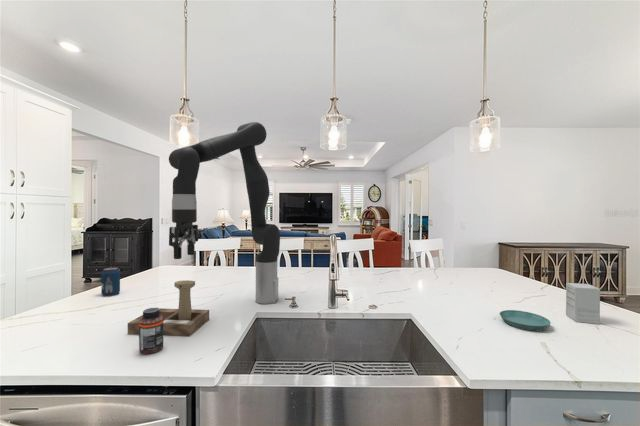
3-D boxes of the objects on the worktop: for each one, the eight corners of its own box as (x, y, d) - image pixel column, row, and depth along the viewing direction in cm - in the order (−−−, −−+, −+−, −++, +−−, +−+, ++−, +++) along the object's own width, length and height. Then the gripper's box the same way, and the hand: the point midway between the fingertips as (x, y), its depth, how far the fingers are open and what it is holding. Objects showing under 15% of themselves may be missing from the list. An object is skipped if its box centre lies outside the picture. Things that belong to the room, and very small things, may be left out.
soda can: (116, 291, 140) (116, 266, 140) (122, 294, 136) (122, 268, 136) (99, 295, 135) (98, 268, 134) (104, 297, 131) (104, 270, 130)
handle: (189, 330, 96) (189, 284, 96) (171, 329, 97) (171, 283, 97) (197, 324, 101) (197, 280, 101) (180, 323, 102) (180, 280, 102)
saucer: (489, 320, 108) (490, 313, 108) (516, 314, 113) (516, 308, 113) (532, 336, 94) (533, 328, 94) (560, 329, 100) (560, 321, 100)
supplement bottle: (145, 345, 86) (145, 306, 86) (167, 344, 86) (167, 305, 86) (134, 355, 80) (134, 313, 80) (157, 354, 80) (157, 313, 80)
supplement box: (589, 317, 111) (589, 283, 110) (600, 324, 104) (601, 288, 103) (565, 315, 113) (565, 282, 113) (574, 322, 106) (575, 286, 106)
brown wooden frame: (209, 319, 106) (209, 308, 106) (189, 336, 92) (189, 324, 92) (155, 317, 107) (155, 307, 107) (127, 334, 93) (127, 322, 93)
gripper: (184, 208, 91) (184, 260, 92) (205, 208, 105) (205, 253, 106) (160, 208, 92) (161, 260, 92) (184, 208, 106) (184, 253, 106)
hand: (184, 256), depth 99 cm, fingers open, 8 cm apart
